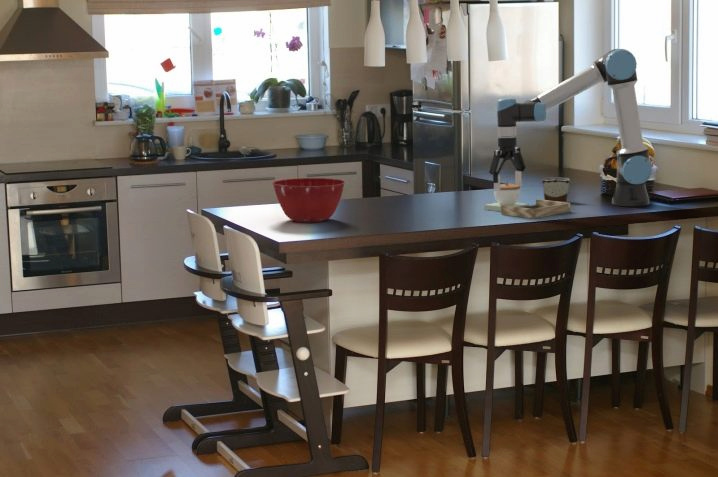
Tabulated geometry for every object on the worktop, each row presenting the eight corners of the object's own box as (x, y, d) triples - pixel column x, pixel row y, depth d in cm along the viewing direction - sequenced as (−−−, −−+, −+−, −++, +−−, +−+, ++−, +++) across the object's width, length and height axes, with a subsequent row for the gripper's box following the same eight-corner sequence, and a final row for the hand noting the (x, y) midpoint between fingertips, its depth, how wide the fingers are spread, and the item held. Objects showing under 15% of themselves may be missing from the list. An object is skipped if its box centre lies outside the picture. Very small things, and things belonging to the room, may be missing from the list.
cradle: (570, 211, 466) (570, 202, 466) (533, 218, 451) (533, 209, 450) (537, 207, 478) (537, 199, 478) (501, 214, 463) (501, 205, 462)
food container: (569, 200, 498) (569, 177, 496) (570, 202, 492) (570, 178, 490) (540, 200, 499) (540, 177, 497) (541, 202, 493) (541, 179, 491)
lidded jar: (499, 206, 468) (499, 183, 467) (489, 203, 479) (489, 180, 477) (524, 205, 471) (524, 182, 470) (513, 202, 481) (513, 179, 480)
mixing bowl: (306, 212, 475) (306, 175, 473) (360, 218, 458) (360, 179, 455) (258, 222, 454) (257, 182, 451) (313, 228, 436) (312, 187, 433)
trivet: (529, 209, 475) (529, 204, 475) (508, 212, 466) (508, 207, 466) (504, 206, 484) (504, 201, 484) (484, 209, 476) (484, 204, 475)
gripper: (519, 134, 481) (520, 184, 485) (479, 139, 464) (480, 191, 468) (533, 134, 476) (534, 185, 479) (494, 139, 459) (495, 193, 463)
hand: (507, 188), depth 474 cm, fingers open, 13 cm apart
